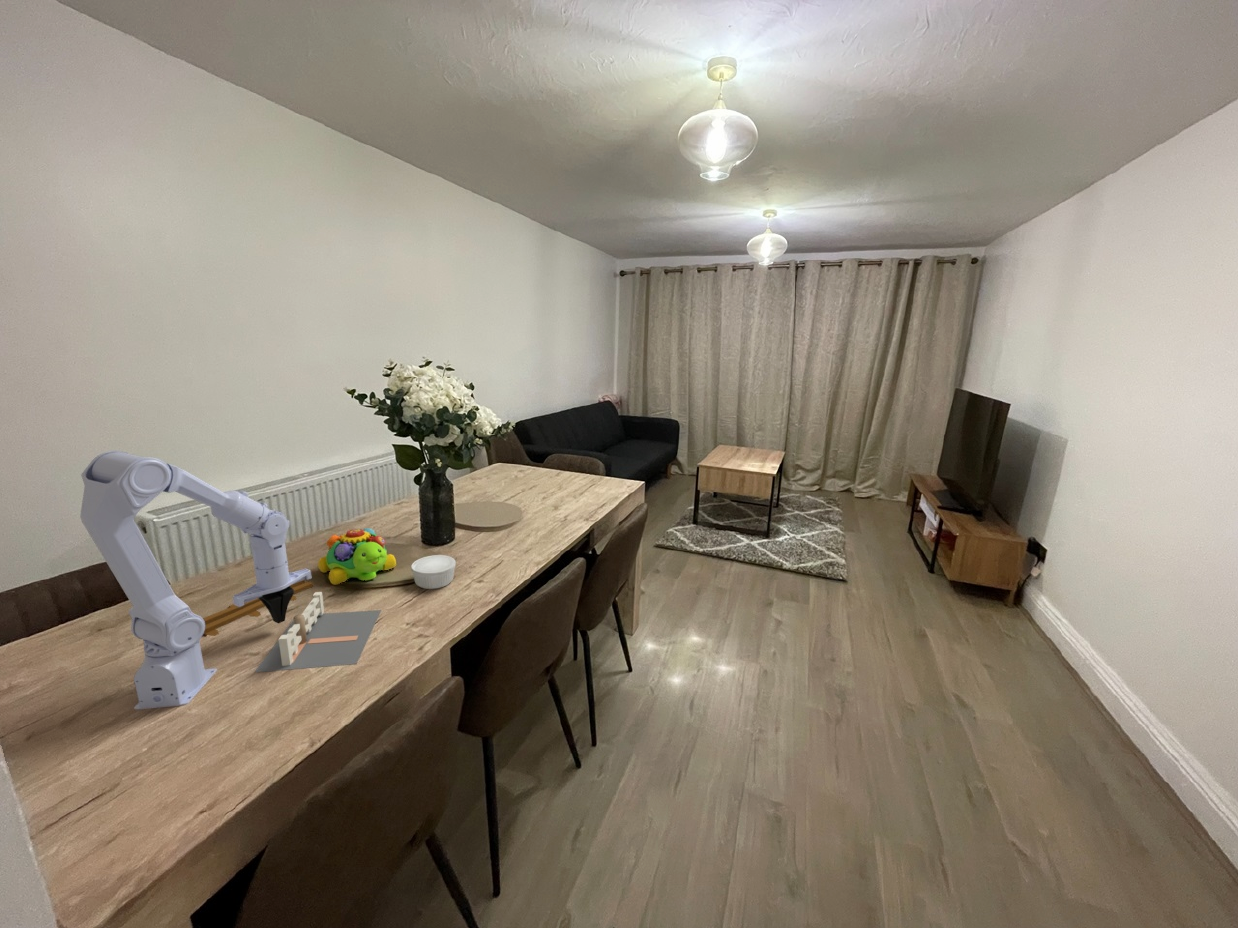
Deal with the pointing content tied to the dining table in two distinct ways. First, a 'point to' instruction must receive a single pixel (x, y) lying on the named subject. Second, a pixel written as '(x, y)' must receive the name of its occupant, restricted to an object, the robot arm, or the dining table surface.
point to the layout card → (327, 642)
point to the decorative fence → (243, 610)
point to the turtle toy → (355, 556)
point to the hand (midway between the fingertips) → (279, 620)
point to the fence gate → (313, 610)
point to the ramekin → (433, 571)
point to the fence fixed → (292, 640)
